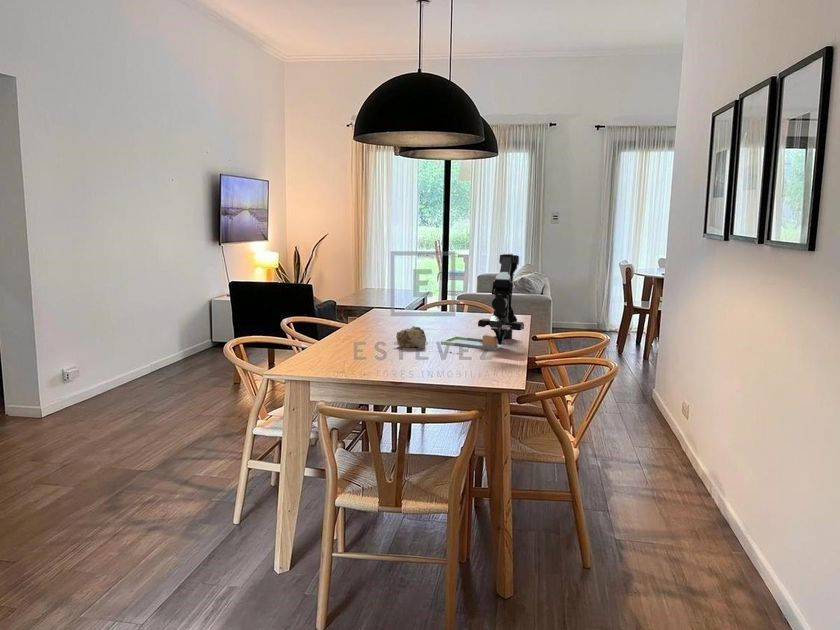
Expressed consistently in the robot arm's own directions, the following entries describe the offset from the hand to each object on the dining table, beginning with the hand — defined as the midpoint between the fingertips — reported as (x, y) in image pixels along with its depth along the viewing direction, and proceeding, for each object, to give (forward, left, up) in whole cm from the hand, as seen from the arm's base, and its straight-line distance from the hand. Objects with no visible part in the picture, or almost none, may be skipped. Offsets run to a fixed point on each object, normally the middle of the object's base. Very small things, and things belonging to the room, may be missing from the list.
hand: (500, 344), depth 265 cm
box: (0, -12, -3) cm, 12 cm away
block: (0, -5, -1) cm, 5 cm away
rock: (+14, -35, -3) cm, 38 cm away
